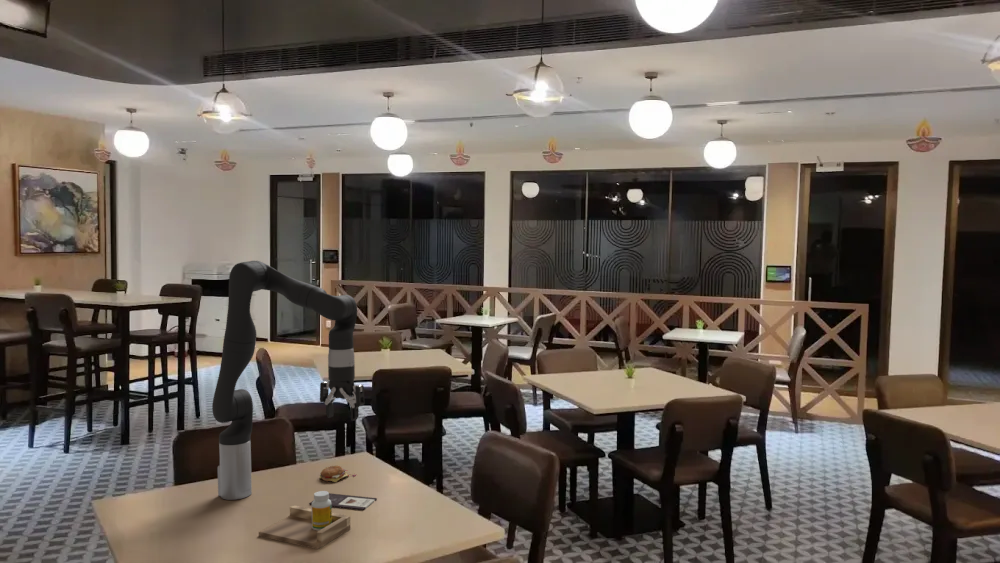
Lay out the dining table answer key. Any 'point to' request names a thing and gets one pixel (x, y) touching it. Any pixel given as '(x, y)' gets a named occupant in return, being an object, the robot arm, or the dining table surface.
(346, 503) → the chocolate bar
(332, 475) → the hamburger
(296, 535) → the wooden tray
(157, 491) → the dining table surface
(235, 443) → the robot arm
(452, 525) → the dining table surface
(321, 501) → the supplement bottle
